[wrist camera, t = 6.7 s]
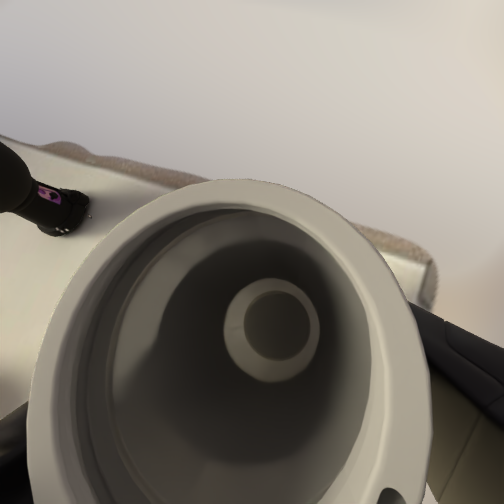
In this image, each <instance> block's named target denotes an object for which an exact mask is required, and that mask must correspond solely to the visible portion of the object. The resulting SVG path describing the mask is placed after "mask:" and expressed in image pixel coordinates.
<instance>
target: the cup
mask: <svg viewBox="0 0 504 504" xmlns="http://www.w3.org/2000/svg"><path fill="white" fill-rule="evenodd" d="M432 439H433V416H432V397H431V383H430V373H429V368H428V364H427V360H426V356H425V351H424V347H423V344H422V340H421V337H420V334H419V330H418V326H417V322H416V319H415V317H414V315H413V313H412V310H411V308H410V306H409V304H408V301H407V299H406V297H405V295H404V293H403V291H402V289H401V287H400V285H399V283H398V281H397V280H396V278H395V276H394V274H393V272H392V270H391V269H390V267H389V266H388V264H387V263H386V261H385V260H384V258H383V257H382V255H381V254H380V253H379V252H378V250H377V249H376V248H375V247H374V245H373V244H372V243H371V242H370V241H369V240H368V239H367V238H366V237H365V236H364V235H363V234H362V233H361V232H360V231H359V230H357V229H356V228H355V227H354V226H353V225H352V224H351V223H350V222H349V221H348V220H347V219H345V218H344V217H343V216H341V215H340V214H339V213H337V212H336V211H334V210H333V209H331V208H330V207H328V206H326V205H325V204H323V203H321V202H320V201H318V200H316V199H315V198H313V197H311V196H309V195H307V194H304V193H302V192H299V191H297V190H294V189H291V188H288V187H286V186H282V185H280V184H275V183H270V182H264V181H257V180H252V179H218V180H213V181H208V182H202V183H197V184H192V185H188V186H186V187H183V188H180V189H178V190H175V191H172V192H170V193H167V194H164V195H162V196H160V197H158V198H157V199H155V200H153V201H151V202H150V203H148V204H146V205H144V206H143V207H141V208H139V209H137V210H136V211H134V212H133V213H132V214H131V215H129V216H128V217H127V218H126V219H124V220H123V221H122V222H120V223H119V224H118V225H117V226H115V227H114V228H113V229H112V230H111V231H110V232H109V233H108V234H107V235H106V236H105V237H104V238H103V239H102V240H101V241H100V242H99V243H98V244H97V245H96V246H95V247H94V248H93V249H92V250H91V252H90V253H89V254H88V256H87V257H86V258H85V260H84V261H83V263H82V264H81V265H80V267H79V268H78V269H77V271H76V272H75V273H74V275H73V276H72V277H71V279H70V281H69V283H68V285H67V286H66V288H65V290H64V292H63V294H62V295H61V297H60V299H59V301H58V303H57V304H56V306H55V308H54V311H53V313H52V316H51V318H50V321H49V323H48V326H47V328H46V331H45V333H44V336H43V338H42V341H41V344H40V348H39V352H38V356H37V360H36V364H35V368H34V372H33V376H32V379H31V388H30V396H29V404H28V413H27V465H28V471H29V477H30V483H31V488H32V494H33V500H34V504H422V501H423V498H424V495H425V488H426V481H427V474H428V468H429V460H430V453H431V446H432Z"/></svg>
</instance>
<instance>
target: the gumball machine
mask: <svg viewBox="0 0 504 504" xmlns="http://www.w3.org/2000/svg"><path fill="white" fill-rule="evenodd" d="M60 189H61V190H60ZM60 189H57V188H54V187H52V186H49V185H46V184H44V183H41V182H38V181H36V180H35V179H33V178H32V177H31V174H30V172H29V169H28V167H27V165H26V164H25V162H24V161H23V160H22V159H21V158H20V157H19V156H18V155H17V154H16V153H15V152H14V151H12V150H11V149H10V148H9V147H7V146H6V145H4V144H3V143H1V142H0V213H4V212H13V213H15V214H17V215H19V216H21V217H23V218H25V219H27V220H29V221H31V222H33V223H35V224H37V227H38V228H39V229H40V230H41V231H42V232H44V233H46V234H48V235H50V236H53V237H57V236H62V235H65V234H67V233H69V232H70V231H71V230H73V229H74V228H75V227H76V226H77V224H78V223H79V222H80V220H81V219H82V217H83V215H84V211H85V207H86V206H87V205H88V203H89V197H88V196H86V195H85V194H83V193H81V192H79V191H76V190H69V189H62V188H60ZM88 217H90V218H92V217H91V215H89V214H88Z"/></svg>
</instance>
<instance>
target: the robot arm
mask: <svg viewBox="0 0 504 504" xmlns="http://www.w3.org/2000/svg"><path fill="white" fill-rule="evenodd" d="M408 304H409V306H410V308H411V310H412V313H413V315H414V317H415V319H416V322H417V326H418V330H419V334H420V337H421V340H422V344H423V347H424V351H425V356H426V360H427V364H428V368H429V373H430V383H431V397H432V416H433V439H432V446H431V453H430V460H429V468H428V474H427V483H428V485H429V487H430V489H431V491H432V493H433V495H434V497H435V499H436V501H437V502H438V504H504V348H501V347H499V346H497V345H495V344H492V343H490V342H488V341H486V340H484V339H482V338H480V337H478V336H476V335H474V334H472V333H470V332H468V331H466V330H464V329H462V328H460V327H458V326H456V325H454V324H452V323H450V322H448V321H445V322H444V320H443V319H442V318H440V317H438V316H436V315H434V314H432V313H430V312H428V311H426V310H424V309H422V308H420V307H418V306H416V305H414V304H412V303H411V302H409V301H408ZM28 404H29V401H28V402H26V403H25V404H23V405H22V406H20V407H19V408H17V409H16V410H14V411H13V412H11V413H10V414H8V415H7V416H6V417H4V418H3V419H1V420H0V504H34V500H33V494H32V488H31V483H30V477H29V471H28V465H27V413H28Z"/></svg>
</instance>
